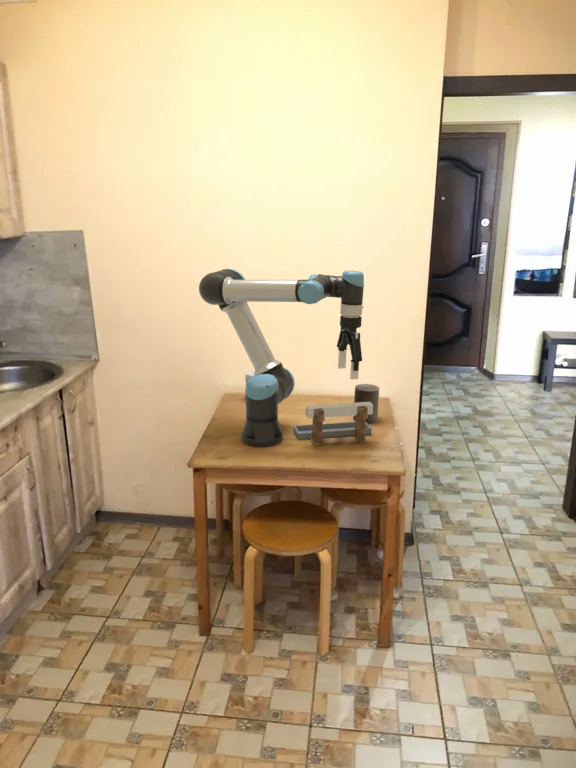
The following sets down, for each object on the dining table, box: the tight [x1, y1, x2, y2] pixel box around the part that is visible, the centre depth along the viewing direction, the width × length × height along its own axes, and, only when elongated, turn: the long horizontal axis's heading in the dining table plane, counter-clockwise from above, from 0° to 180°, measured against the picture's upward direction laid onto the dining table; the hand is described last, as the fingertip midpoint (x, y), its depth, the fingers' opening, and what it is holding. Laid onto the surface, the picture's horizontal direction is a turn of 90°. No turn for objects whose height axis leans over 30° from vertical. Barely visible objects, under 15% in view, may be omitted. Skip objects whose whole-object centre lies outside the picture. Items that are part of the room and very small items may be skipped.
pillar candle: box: [352, 383, 380, 425], centre depth 245 cm, size 10×10×15 cm
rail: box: [305, 402, 373, 419], centre depth 221 cm, size 24×4×4 cm, turn 101°
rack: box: [310, 407, 368, 447], centre depth 222 cm, size 20×7×14 cm, turn 101°
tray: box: [293, 421, 372, 441], centre depth 233 cm, size 28×8×2 cm, turn 101°
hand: (347, 373), depth 222 cm, fingers open, 13 cm apart
